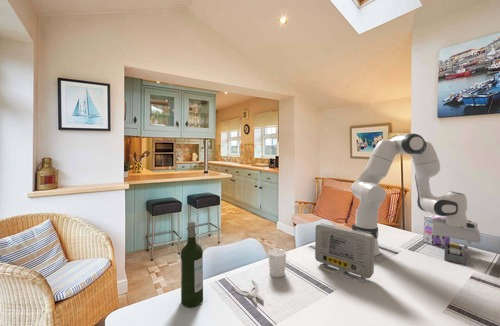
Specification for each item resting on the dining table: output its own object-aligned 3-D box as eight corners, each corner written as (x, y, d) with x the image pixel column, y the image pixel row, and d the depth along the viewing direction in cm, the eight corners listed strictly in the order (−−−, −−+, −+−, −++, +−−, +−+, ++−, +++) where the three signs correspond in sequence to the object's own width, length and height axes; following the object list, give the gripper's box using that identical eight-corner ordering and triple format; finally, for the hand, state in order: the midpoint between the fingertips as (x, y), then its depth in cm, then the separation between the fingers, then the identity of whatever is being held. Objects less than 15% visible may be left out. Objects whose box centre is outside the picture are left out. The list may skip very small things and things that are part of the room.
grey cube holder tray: (444, 260, 121) (444, 254, 120) (444, 247, 136) (445, 242, 136) (465, 264, 115) (465, 258, 115) (463, 251, 131) (463, 246, 131)
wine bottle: (186, 294, 92) (185, 218, 90) (205, 295, 91) (205, 218, 89) (177, 307, 84) (176, 224, 82) (199, 309, 83) (198, 225, 81)
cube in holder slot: (449, 259, 122) (449, 249, 121) (449, 256, 125) (449, 247, 124) (459, 261, 119) (460, 251, 119) (459, 258, 122) (459, 249, 122)
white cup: (287, 271, 109) (288, 250, 108) (282, 279, 102) (283, 257, 101) (271, 268, 112) (272, 247, 112) (265, 275, 105) (266, 254, 105)
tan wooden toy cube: (449, 252, 129) (449, 244, 129) (449, 250, 132) (449, 241, 132) (458, 255, 127) (459, 245, 126) (458, 252, 130) (459, 243, 129)
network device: (375, 278, 103) (376, 233, 102) (368, 286, 97) (370, 238, 96) (320, 259, 121) (321, 221, 120) (312, 265, 114) (312, 225, 113)
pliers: (253, 278, 101) (271, 297, 87) (253, 281, 101) (271, 301, 88) (231, 283, 97) (247, 305, 83) (231, 287, 97) (247, 309, 83)
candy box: (432, 245, 139) (433, 218, 138) (422, 241, 145) (423, 215, 144) (450, 243, 142) (451, 216, 142) (440, 239, 148) (441, 214, 147)
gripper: (431, 219, 133) (430, 242, 134) (481, 226, 120) (480, 253, 120) (431, 216, 138) (430, 239, 138) (480, 223, 124) (479, 249, 125)
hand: (454, 246), depth 129 cm, fingers open, 8 cm apart
